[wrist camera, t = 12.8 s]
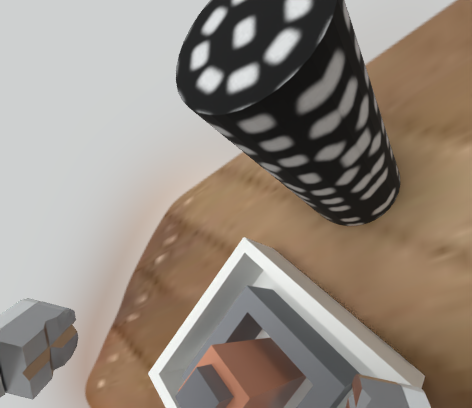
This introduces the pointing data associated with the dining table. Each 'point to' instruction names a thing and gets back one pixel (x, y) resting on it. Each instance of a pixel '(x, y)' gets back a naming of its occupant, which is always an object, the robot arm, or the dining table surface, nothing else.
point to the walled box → (280, 331)
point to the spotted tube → (293, 100)
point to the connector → (241, 377)
